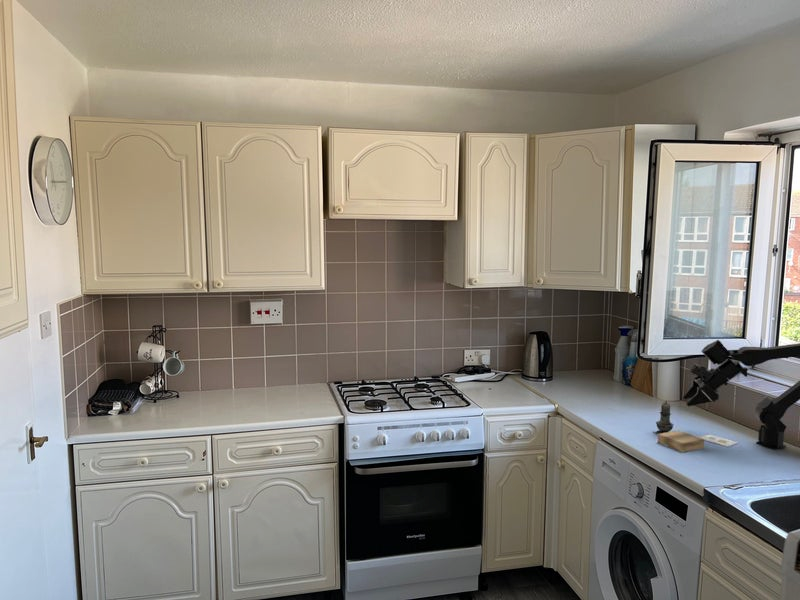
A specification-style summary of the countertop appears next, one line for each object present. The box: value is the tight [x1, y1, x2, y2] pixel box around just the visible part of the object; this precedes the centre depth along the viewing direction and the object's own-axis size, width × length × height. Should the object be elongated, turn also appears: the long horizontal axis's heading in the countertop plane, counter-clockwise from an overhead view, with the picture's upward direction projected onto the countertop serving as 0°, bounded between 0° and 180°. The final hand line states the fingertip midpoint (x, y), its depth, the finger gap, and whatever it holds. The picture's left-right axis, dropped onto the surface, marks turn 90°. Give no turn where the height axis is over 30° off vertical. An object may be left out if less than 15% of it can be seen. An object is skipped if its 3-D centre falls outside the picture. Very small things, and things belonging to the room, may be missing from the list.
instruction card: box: [698, 434, 739, 448], centre depth 200 cm, size 10×7×1 cm
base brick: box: [657, 429, 705, 453], centre depth 195 cm, size 10×10×3 cm
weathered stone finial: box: [655, 400, 675, 435], centre depth 207 cm, size 6×6×12 cm
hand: (685, 401), depth 204 cm, fingers open, 9 cm apart
